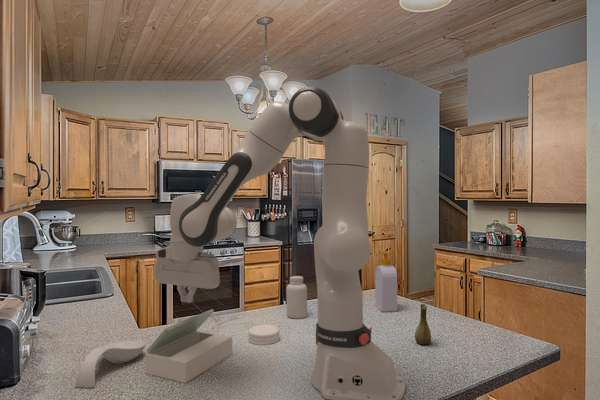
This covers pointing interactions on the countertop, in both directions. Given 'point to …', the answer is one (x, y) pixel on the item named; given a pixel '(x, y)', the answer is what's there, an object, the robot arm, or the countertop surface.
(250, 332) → the beige short cylinder
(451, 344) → the countertop surface
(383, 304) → the soap bottle
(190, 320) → the cover
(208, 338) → the beige rectangular box
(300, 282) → the pill bottle
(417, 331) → the olive green bottle shape
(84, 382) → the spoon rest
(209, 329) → the scissors
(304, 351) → the countertop surface
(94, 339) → the countertop surface
